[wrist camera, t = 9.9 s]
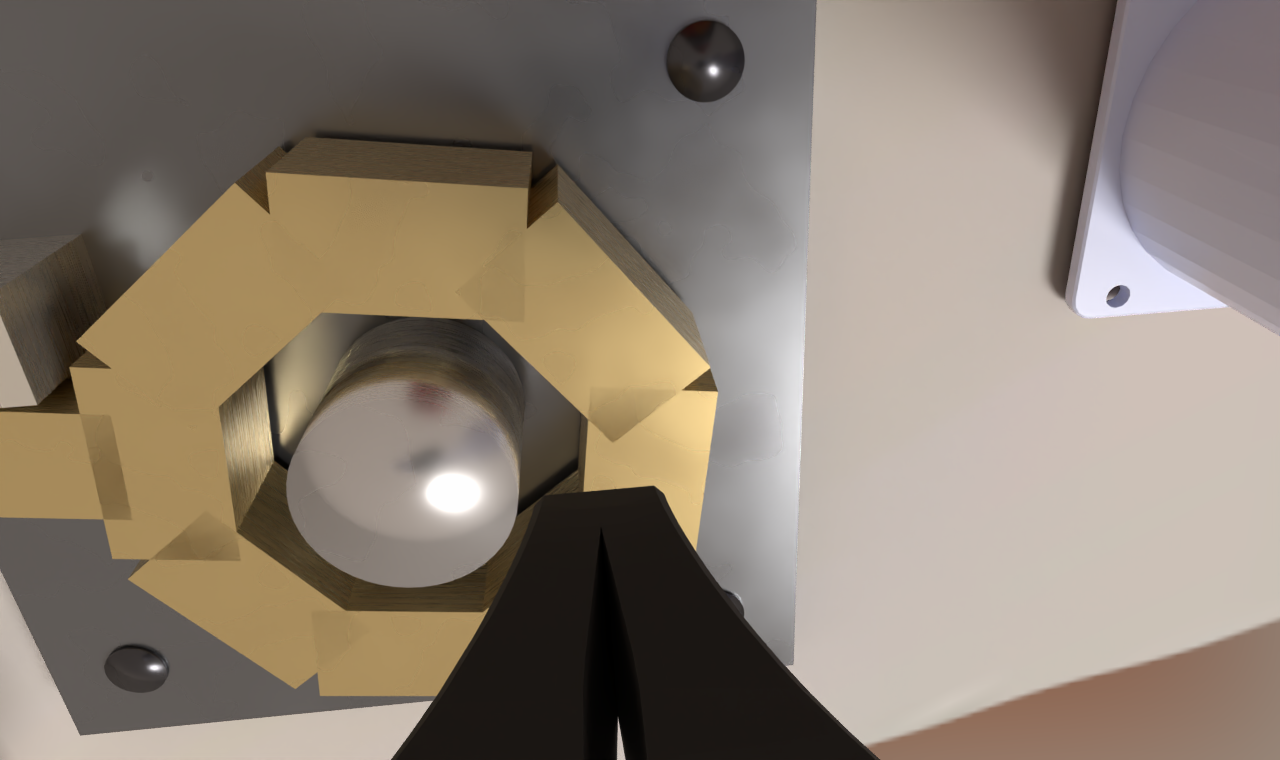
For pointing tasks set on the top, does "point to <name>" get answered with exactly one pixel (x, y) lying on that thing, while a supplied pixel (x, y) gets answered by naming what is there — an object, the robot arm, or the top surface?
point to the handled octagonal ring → (351, 284)
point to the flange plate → (400, 345)
